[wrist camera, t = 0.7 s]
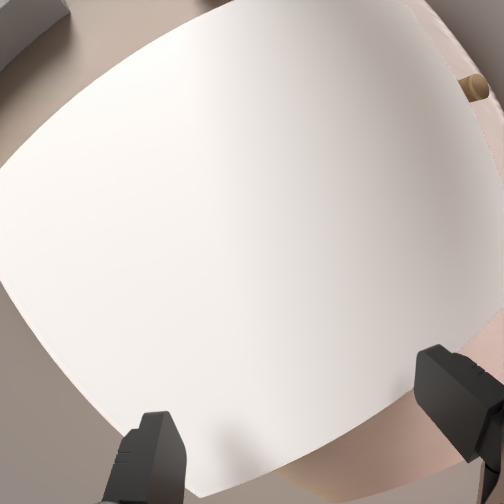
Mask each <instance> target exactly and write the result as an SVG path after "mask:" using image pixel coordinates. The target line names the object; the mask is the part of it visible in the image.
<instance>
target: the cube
mask: <svg viewBox="0 0 504 504" xmlns="http://www.w3.org/2000/svg"><path fill="white" fill-rule="evenodd" d="M0 281H1V282H2V284H3V286H4V288H5V289H6V291H7V293H8V294H9V296H10V298H11V299H12V301H13V302H14V304H15V306H16V307H17V309H18V310H19V312H20V314H21V315H22V317H23V318H24V319H25V321H26V322H27V324H28V325H29V327H30V328H31V330H32V331H33V332H34V334H35V335H36V337H37V338H38V340H39V341H40V342H41V344H42V345H43V347H44V348H45V349H46V350H47V352H48V353H49V354H50V356H51V357H52V358H53V360H54V361H55V362H56V363H57V365H58V366H59V367H60V368H61V369H62V371H63V372H64V373H65V375H66V376H67V377H68V378H69V379H70V380H71V382H72V383H73V384H74V385H75V386H76V387H77V389H78V390H79V391H80V392H81V393H82V394H83V395H84V397H85V398H86V399H87V400H88V401H89V402H90V403H91V404H92V405H93V406H94V407H95V408H96V409H97V410H98V411H99V413H101V415H102V416H103V417H104V418H105V419H107V421H108V422H109V423H110V424H111V425H112V426H113V427H115V429H117V431H119V432H120V433H121V434H122V435H123V436H124V437H125V436H126V434H127V433H128V432H129V431H130V430H131V429H138V428H139V425H140V422H141V419H142V416H143V414H144V413H146V412H158V411H168V412H169V413H170V414H171V416H172V419H173V421H174V423H175V425H176V428H177V430H178V432H179V434H180V436H181V438H182V441H183V443H184V445H185V449H186V454H187V466H186V477H185V488H187V489H188V490H189V491H191V492H192V493H194V494H195V495H197V496H198V497H200V498H201V497H205V496H208V495H211V494H214V493H217V492H219V491H222V490H225V489H228V488H231V487H234V486H236V485H239V484H242V483H244V482H247V481H249V480H251V479H254V478H256V477H259V476H261V475H263V474H266V473H268V472H271V471H273V470H275V469H277V468H280V467H282V466H284V465H286V464H288V463H290V462H292V461H294V460H296V459H299V458H301V457H303V456H305V455H306V454H308V453H310V452H312V451H314V450H316V449H318V448H320V447H322V446H324V445H325V444H327V443H329V442H331V441H333V440H334V439H336V438H338V437H340V436H341V435H343V434H345V433H347V432H348V431H350V430H352V429H353V428H355V427H357V426H358V425H360V424H361V423H363V422H365V421H366V420H368V419H369V418H371V417H372V416H374V415H375V414H377V413H379V412H380V411H382V410H383V409H384V408H386V407H387V406H389V405H390V404H392V403H393V402H395V401H396V400H397V399H399V398H400V397H402V396H403V395H404V394H406V393H407V392H408V391H410V390H411V389H413V388H414V380H415V368H416V356H417V353H418V352H419V351H421V350H424V349H426V348H429V347H431V346H434V345H436V344H440V345H442V346H443V347H445V348H446V349H447V350H448V351H450V352H451V353H454V352H455V353H457V352H458V351H459V350H460V349H461V348H462V347H463V346H464V345H466V344H467V343H468V342H469V341H470V340H471V339H472V338H473V337H474V336H475V335H476V334H477V333H478V332H479V331H480V330H481V329H482V328H483V327H484V326H485V325H486V324H487V323H488V322H489V321H490V320H491V319H492V318H493V317H494V316H495V315H496V314H497V313H498V312H499V311H500V310H501V309H502V308H503V307H504V186H503V183H502V180H501V177H500V174H499V171H498V169H497V166H496V163H495V160H494V158H493V155H492V153H491V150H490V148H489V145H488V143H487V140H486V138H485V136H484V133H483V131H482V129H481V127H480V124H479V122H478V120H477V118H476V116H475V114H474V112H473V110H472V107H471V105H470V103H469V101H468V100H467V98H466V96H465V94H464V92H463V90H462V88H461V86H460V84H459V83H458V81H457V79H456V77H455V76H454V74H453V72H452V70H451V69H450V67H449V65H448V64H447V62H446V60H445V59H444V57H443V56H442V54H441V52H440V51H439V49H438V48H437V46H436V45H435V43H434V42H433V40H432V39H431V37H430V36H429V34H428V33H427V31H426V30H425V29H424V27H423V26H422V24H421V23H420V22H419V20H418V19H417V18H416V16H415V15H414V14H413V12H412V11H411V10H410V8H409V7H408V6H407V5H406V3H405V2H404V1H403V0H233V1H231V2H229V3H226V4H224V5H222V6H220V7H218V8H215V9H213V10H211V11H209V12H207V13H205V14H203V15H201V16H199V17H197V18H195V19H193V20H191V21H189V22H187V23H185V24H183V25H181V26H179V27H177V28H176V29H174V30H172V31H170V32H168V33H167V34H165V35H163V36H161V37H160V38H158V39H156V40H155V41H153V42H151V43H150V44H148V45H146V46H145V47H143V48H142V49H140V50H138V51H137V52H135V53H134V54H132V55H131V56H129V57H128V58H126V59H125V60H123V61H122V62H120V63H119V64H117V65H116V66H114V67H113V68H112V69H110V70H109V71H107V72H106V73H105V74H103V75H102V76H101V77H99V78H98V79H97V80H95V81H94V82H93V83H91V84H90V85H89V86H87V87H86V88H85V89H84V90H82V91H81V92H80V93H79V94H77V95H76V96H75V97H74V98H73V99H71V100H70V101H69V102H68V103H67V104H65V105H64V106H63V107H62V108H61V109H60V110H59V111H57V112H56V113H55V114H54V115H53V116H52V117H51V118H50V119H49V120H47V121H46V122H45V123H44V124H43V125H42V126H41V127H40V128H39V129H38V130H37V131H36V132H35V133H34V134H33V135H32V136H31V137H30V138H29V139H28V140H27V141H26V142H25V143H24V144H23V145H22V146H21V147H20V148H19V149H18V150H17V151H16V152H15V153H14V154H13V155H12V156H11V158H10V159H9V160H8V161H7V162H6V163H5V164H4V165H3V166H2V168H1V169H0Z"/></svg>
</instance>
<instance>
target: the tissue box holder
mask: <svg viewBox="0 0 504 504" xmlns="http://www.w3.org/2000/svg"><path fill="white" fill-rule="evenodd" d="M68 13H70V10H69V8H68V6H67V4H66V2H65V0H0V71H1V70H2V69H3V68H4V67H5V66H6V65H7V64H8V63H10V62H11V61H12V60H13V59H14V58H15V57H16V56H17V55H18V54H19V53H20V52H21V51H22V50H24V49H25V48H26V47H27V46H28V45H29V44H30V43H32V42H33V41H34V40H35V39H36V38H37V37H39V36H40V35H41V34H42V33H44V32H45V31H46V30H47V29H49V28H50V27H51V26H52V25H54V24H55V23H56V22H58V21H59V20H60V19H62V18H63V17H64V16H66V15H67V14H68Z"/></svg>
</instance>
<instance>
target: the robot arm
mask: <svg viewBox="0 0 504 504" xmlns="http://www.w3.org/2000/svg"><path fill="white" fill-rule="evenodd" d="M414 395H415V398H416V401H417V403H418V404H419V405H420V407H421V408H422V409H423V410H424V411H425V412H426V414H427V415H428V416H429V417H430V418H431V420H432V421H433V422H434V423H435V424H436V425H437V427H438V428H439V429H440V430H441V431H442V433H443V434H444V435H445V436H446V437H447V439H448V440H449V441H450V442H451V443H452V445H453V446H454V447H455V448H456V449H457V451H458V452H459V453H460V454H461V455H462V457H463V458H464V459H465V460H466V462H467V463H470V462H471V461H473V460H474V459H476V458H478V457H479V456H480V457H481V458H482V459H483V461H482V464H481V470H480V481H479V489H478V497H477V504H504V385H503V384H502V383H500V382H499V381H498V380H497V379H495V378H494V377H493V376H492V375H490V374H489V373H488V372H485V370H484V369H483V368H481V367H480V366H477V364H476V363H475V362H473V361H472V360H471V359H470V358H468V357H466V356H464V355H461V354H458V353H455V352H454V353H451V352H450V351H448V350H447V349H446V348H445V347H443V346H442V345H440V344H436V345H434V346H431V347H429V348H426V349H424V350H421V351H419V352H418V353H417V356H416V368H415V380H414ZM186 466H187V454H186V449H185V445H184V443H183V441H182V438H181V436H180V434H179V432H178V430H177V428H176V425H175V423H174V421H173V419H172V416H171V414H170V413H169V412H168V411H158V412H146V413H144V414H143V416H142V419H141V422H140V425H139V428H138V429H131V430H130V431H129V432H128V433H127V434H126V436H125V437H124V438H123V439H122V441H121V444H120V447H119V449H118V454H117V455H116V458H115V464H113V467H112V470H111V474H110V477H109V480H108V483H107V486H106V489H105V492H104V496H103V499H102V501H101V502H99V503H95V504H183V500H184V488H185V477H186Z"/></svg>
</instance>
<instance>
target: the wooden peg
mask: <svg viewBox="0 0 504 504" xmlns="http://www.w3.org/2000/svg"><path fill="white" fill-rule="evenodd" d="M458 83H459V84H460V86H461V88H462V90H463V92H464V94H465V96H466V98H467V100H468V101H469V103H470V102H474V101H477V100H482V99H485V98H487V97H488V96H489V87H488V84H487V82H486V80H485V79H484V78H483V77H482V76H481V75H479V74H473V75H470V76H469V77H466V78H464V79H461V80H459V81H458Z"/></svg>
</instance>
